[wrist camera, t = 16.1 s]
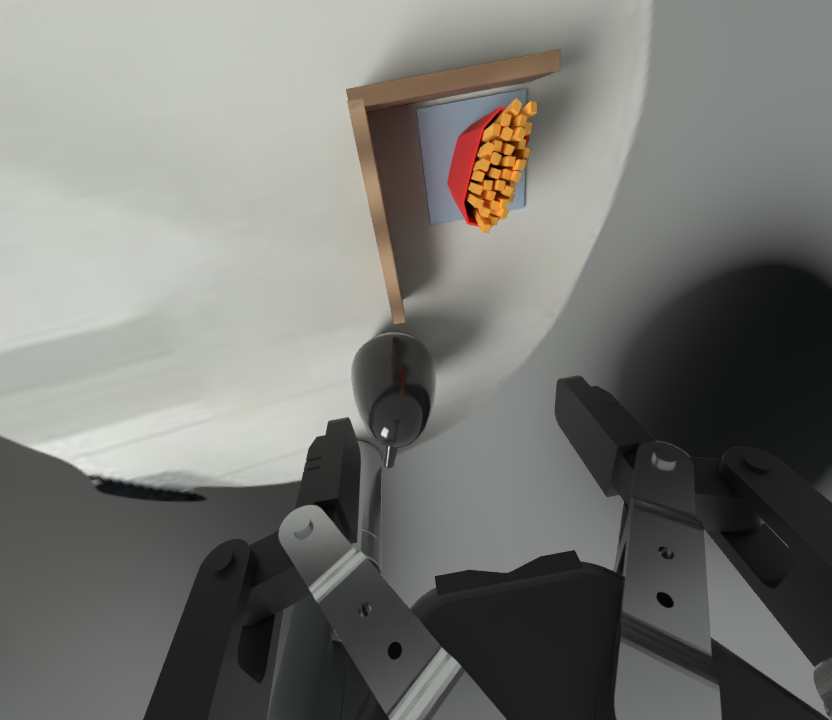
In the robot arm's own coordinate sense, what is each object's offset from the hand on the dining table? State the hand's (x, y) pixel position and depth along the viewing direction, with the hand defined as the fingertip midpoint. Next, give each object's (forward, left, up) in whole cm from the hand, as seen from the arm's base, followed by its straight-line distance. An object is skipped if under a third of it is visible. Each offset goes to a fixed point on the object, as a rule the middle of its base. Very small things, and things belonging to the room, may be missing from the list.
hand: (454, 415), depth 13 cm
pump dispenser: (-15, +5, -29) cm, 33 cm away
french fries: (+6, -7, -29) cm, 30 cm away
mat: (+6, -8, -29) cm, 30 cm away
